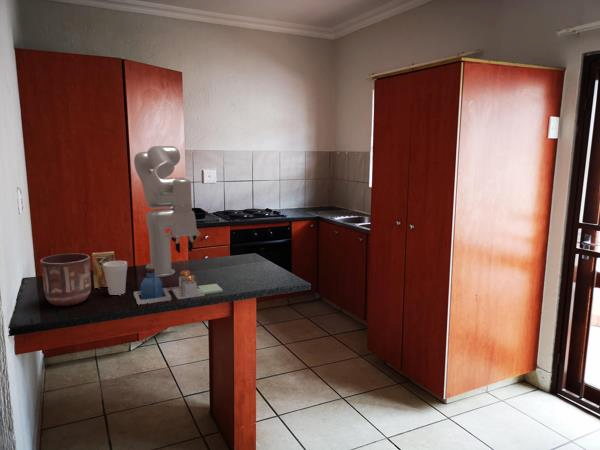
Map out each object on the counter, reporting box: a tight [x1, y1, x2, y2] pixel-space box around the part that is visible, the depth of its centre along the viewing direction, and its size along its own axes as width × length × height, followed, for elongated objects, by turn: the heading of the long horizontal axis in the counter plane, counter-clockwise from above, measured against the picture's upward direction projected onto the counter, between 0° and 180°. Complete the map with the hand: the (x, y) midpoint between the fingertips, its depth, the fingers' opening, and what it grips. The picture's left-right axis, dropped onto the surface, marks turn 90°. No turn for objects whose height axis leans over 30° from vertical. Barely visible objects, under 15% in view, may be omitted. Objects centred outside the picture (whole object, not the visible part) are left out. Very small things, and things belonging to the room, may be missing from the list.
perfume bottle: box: [140, 268, 164, 300], centre depth 187 cm, size 6×6×12 cm
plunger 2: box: [184, 274, 195, 284], centre depth 190 cm, size 4×4×7 cm
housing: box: [133, 275, 206, 306], centre depth 191 cm, size 26×14×6 cm, turn 116°
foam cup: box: [103, 260, 128, 296], centre depth 193 cm, size 10×9×13 cm
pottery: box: [39, 252, 92, 307], centre depth 182 cm, size 18×18×18 cm
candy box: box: [91, 251, 116, 289], centre depth 202 cm, size 9×4×15 cm, turn 110°
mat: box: [197, 283, 224, 295], centre depth 199 cm, size 10×10×1 cm
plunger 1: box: [179, 269, 191, 279], centre depth 197 cm, size 4×4×7 cm
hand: (184, 251), depth 195 cm, fingers open, 4 cm apart
